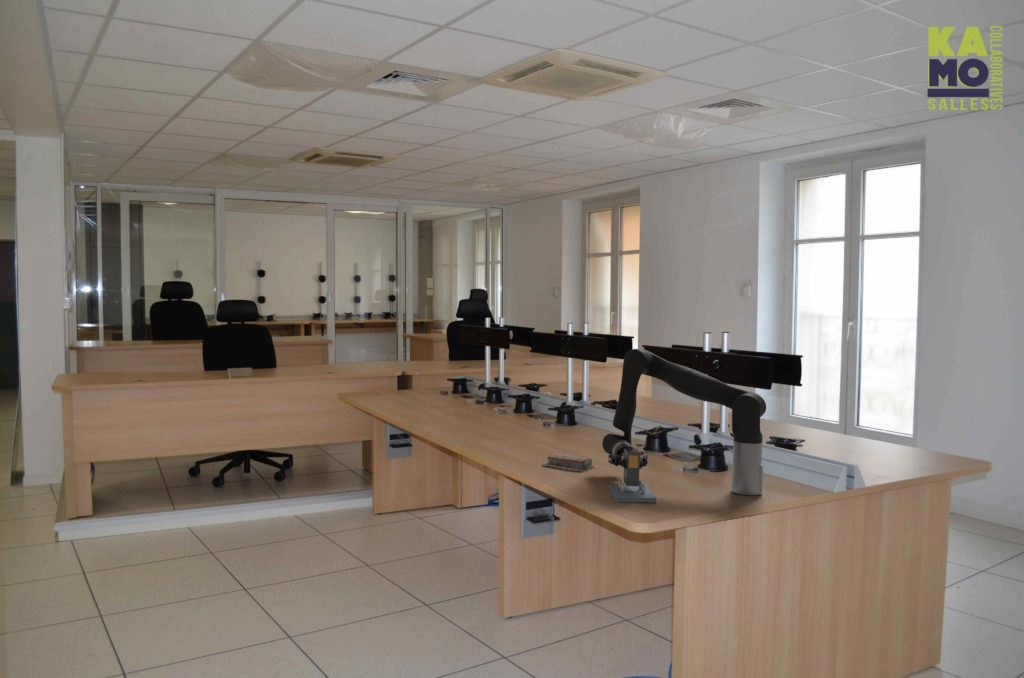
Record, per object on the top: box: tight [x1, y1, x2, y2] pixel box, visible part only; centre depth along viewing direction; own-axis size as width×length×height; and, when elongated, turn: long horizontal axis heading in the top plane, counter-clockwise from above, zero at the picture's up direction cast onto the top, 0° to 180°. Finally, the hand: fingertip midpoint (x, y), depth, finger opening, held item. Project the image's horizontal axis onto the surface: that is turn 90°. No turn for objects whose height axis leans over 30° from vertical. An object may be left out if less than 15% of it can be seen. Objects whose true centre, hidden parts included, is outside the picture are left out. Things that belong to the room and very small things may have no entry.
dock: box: [607, 479, 657, 504], centre depth 245 cm, size 13×16×4 cm
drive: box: [623, 447, 641, 486], centre depth 245 cm, size 4×6×11 cm, turn 1°
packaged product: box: [541, 451, 595, 473], centre depth 287 cm, size 18×5×10 cm
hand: (633, 465), depth 242 cm, fingers closed on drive, 4 cm apart
